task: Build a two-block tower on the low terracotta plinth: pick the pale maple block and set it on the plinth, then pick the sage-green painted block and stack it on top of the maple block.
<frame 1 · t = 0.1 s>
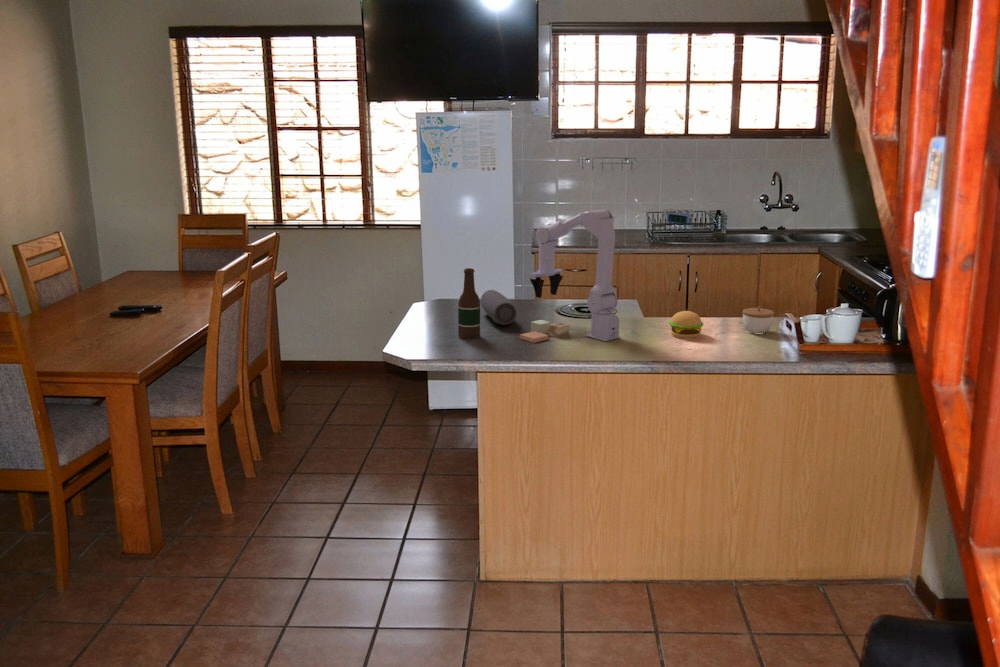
hand: (546, 295, 329), 10 cm above the countertop, tool pointing down, fingers open, 7 cm apart
lidded jar: (756, 332, 319), on the countertop
plinth: (534, 339, 309), on the countertop
sage block: (540, 332, 317), on the countertop
bluetooth speaker: (498, 321, 334), on the countertop
beer bottle: (469, 337, 311), on the countertop
maple block: (558, 335, 314), on the countertop
hamburger: (685, 336, 314), on the countertop
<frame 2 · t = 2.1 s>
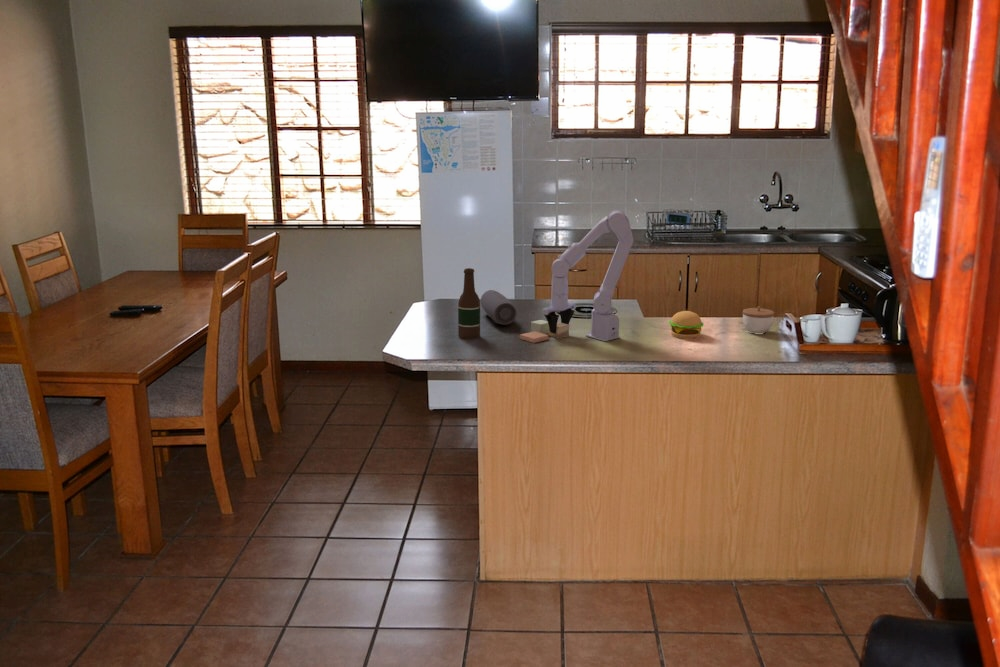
hand: (558, 331, 313), 1 cm above the countertop, tool pointing down, fingers closed on maple block, 5 cm apart
maple block: (558, 335, 314), on the countertop, touching gripper
everything else where it was.
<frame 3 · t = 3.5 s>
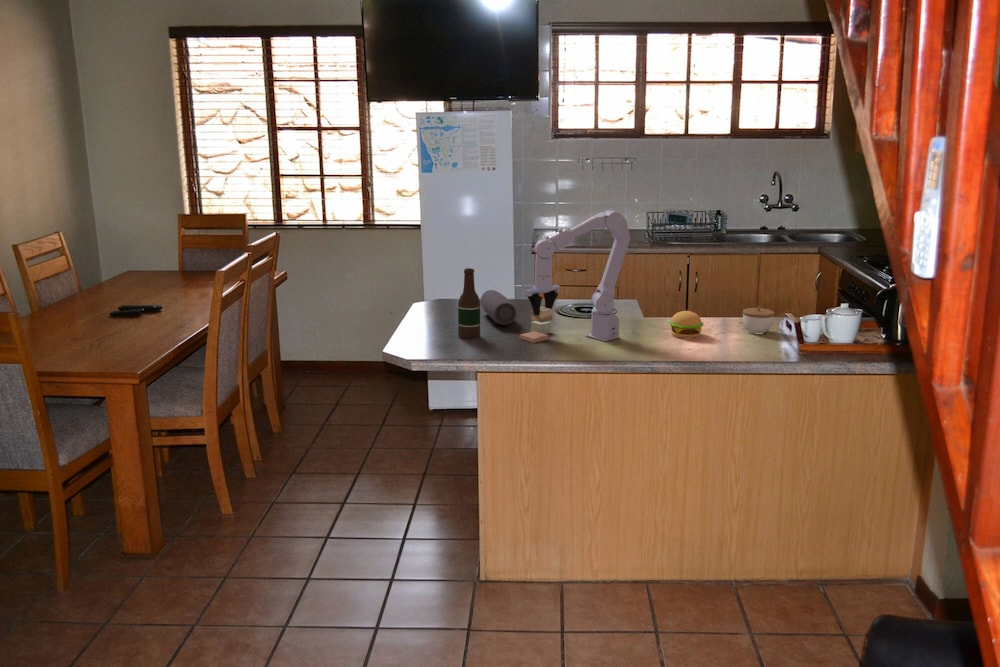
hand: (542, 313, 308), 9 cm above the countertop, tool pointing down, fingers closed on maple block, 5 cm apart
maple block: (542, 320, 309), point 6 cm above the countertop, touching gripper
everything else where it was.
when the fingers open (4 cm above the countertop, at t = 5.1 s): maple block stays where it is, resting on plinth.
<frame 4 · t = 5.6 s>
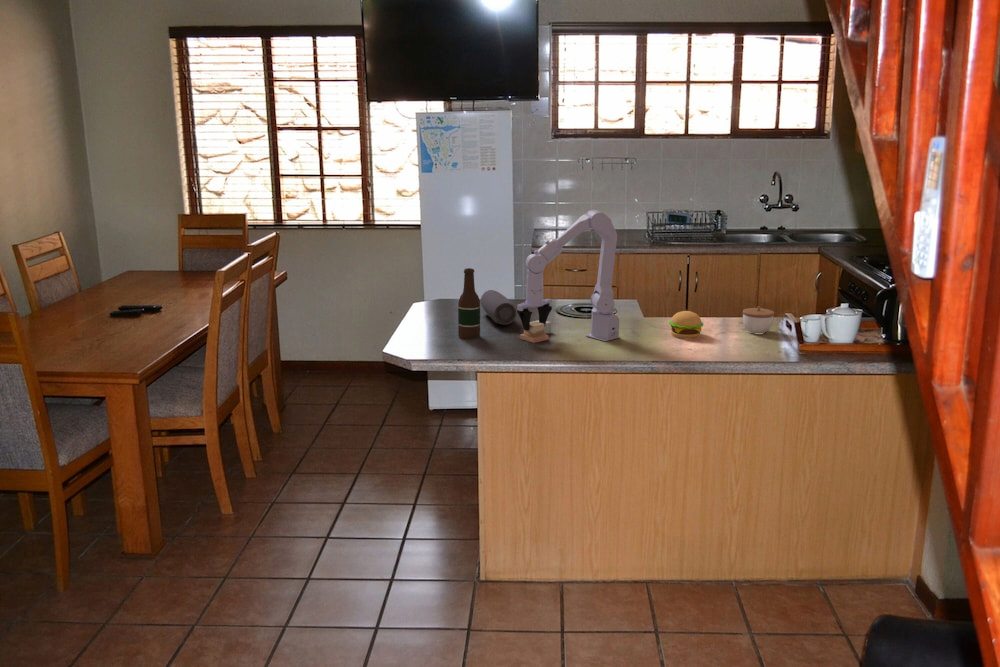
hand: (534, 328, 308), 4 cm above the countertop, tool pointing down, fingers open, 7 cm apart
maple block: (533, 334, 308), point 1 cm above the countertop, touching plinth
everything else where it was.
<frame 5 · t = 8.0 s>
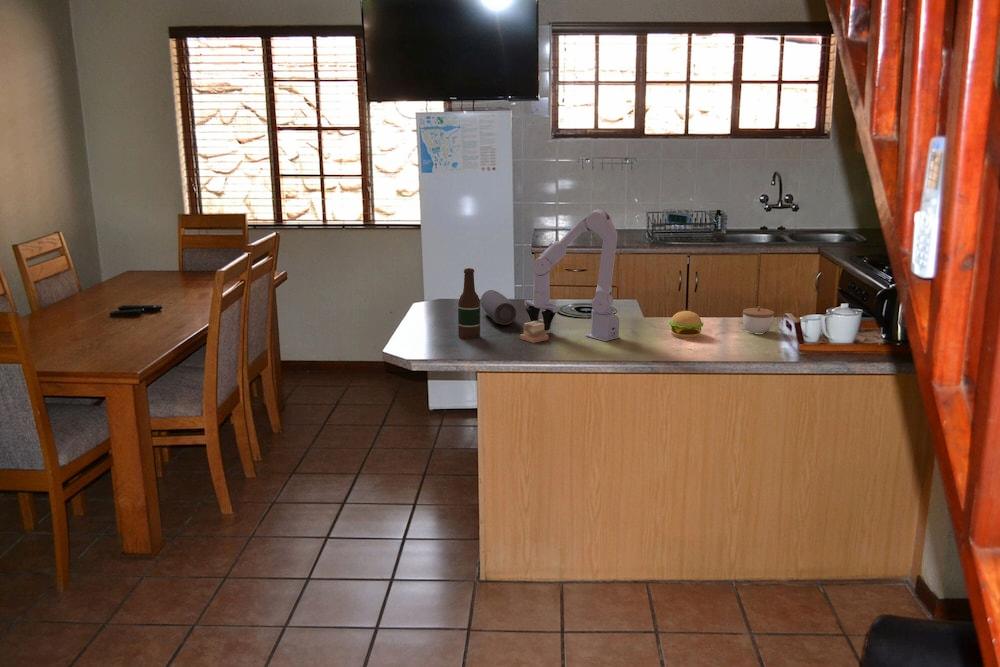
hand: (540, 328, 317), 1 cm above the countertop, tool pointing down, fingers closed on sage block, 5 cm apart
sage block: (540, 332, 317), on the countertop, touching gripper
everything else where it was.
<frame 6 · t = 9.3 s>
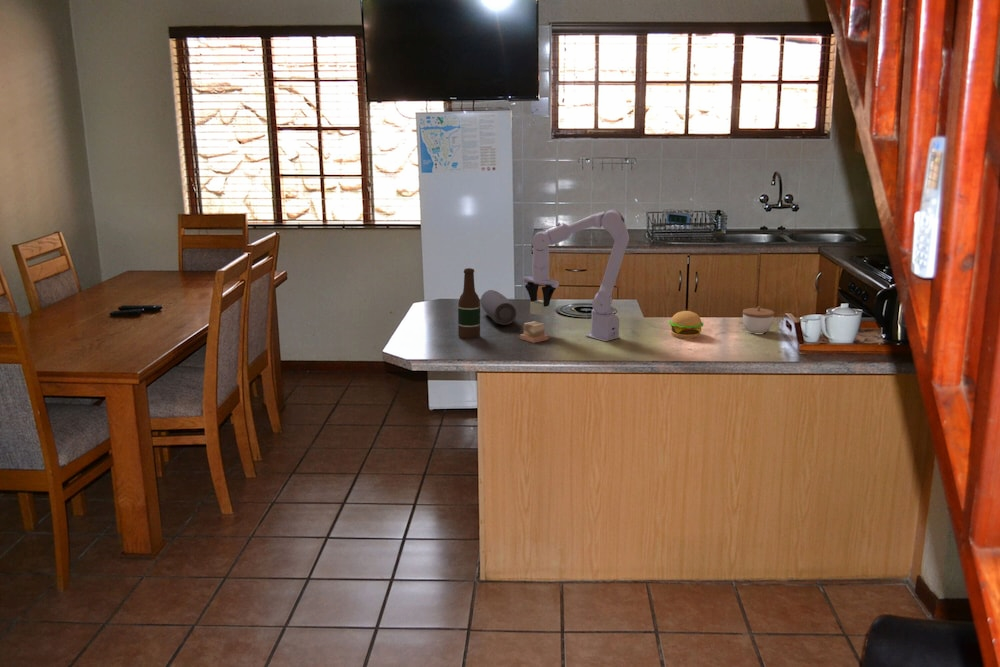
hand: (540, 304, 313), 10 cm above the countertop, tool pointing down, fingers closed on sage block, 5 cm apart
sage block: (540, 313, 314), point 7 cm above the countertop, touching gripper
everything else where it was.
when the fingers open (8 cm above the countertop, at t = 10.8 s): sage block stays where it is, resting on maple block.
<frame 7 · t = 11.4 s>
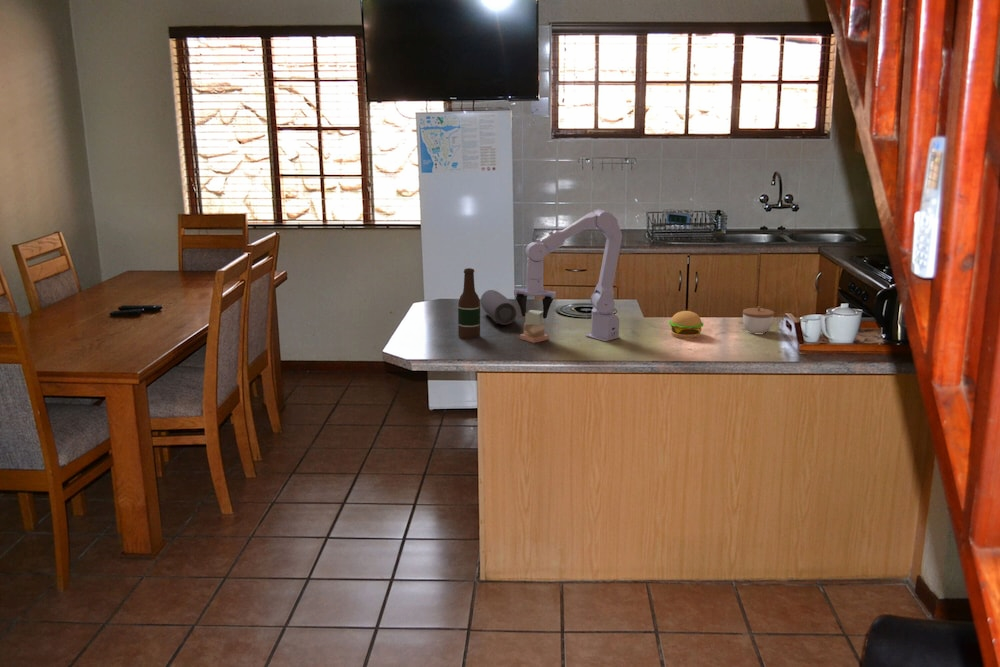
hand: (534, 316, 307), 8 cm above the countertop, tool pointing down, fingers open, 7 cm apart
sage block: (534, 323, 308), point 5 cm above the countertop, touching maple block
maple block: (533, 334, 308), point 1 cm above the countertop, touching plinth, sage block
everything else where it was.
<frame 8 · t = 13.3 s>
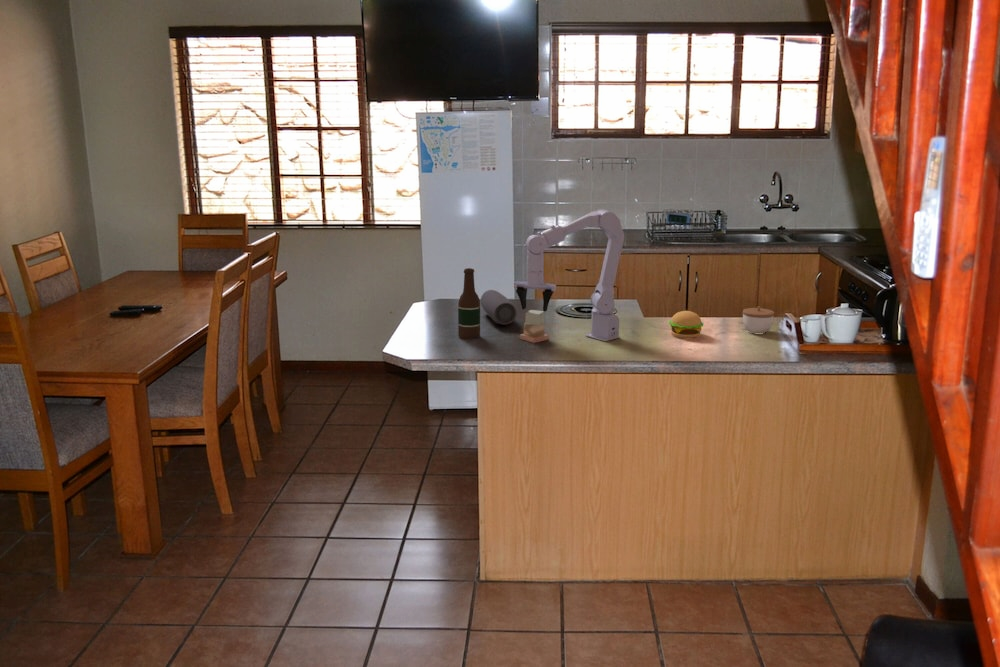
hand: (534, 309, 306), 10 cm above the countertop, tool pointing down, fingers open, 7 cm apart
nothing on the countertop moved.
at the end: maple block 0.1 cm off-centre on the plinth, point 1.5 cm above the plinth's base; sage block 0.4 cm off-centre on the plinth, point 5.5 cm above the plinth's base; sage block tilted 0° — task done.
